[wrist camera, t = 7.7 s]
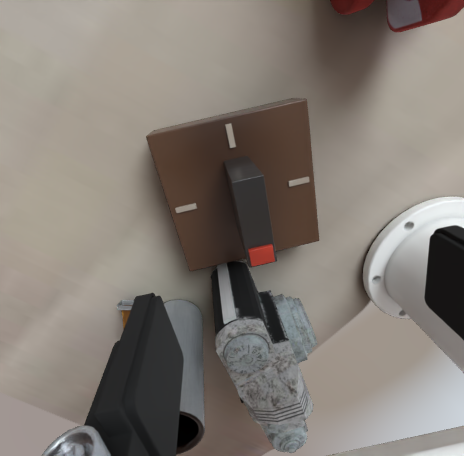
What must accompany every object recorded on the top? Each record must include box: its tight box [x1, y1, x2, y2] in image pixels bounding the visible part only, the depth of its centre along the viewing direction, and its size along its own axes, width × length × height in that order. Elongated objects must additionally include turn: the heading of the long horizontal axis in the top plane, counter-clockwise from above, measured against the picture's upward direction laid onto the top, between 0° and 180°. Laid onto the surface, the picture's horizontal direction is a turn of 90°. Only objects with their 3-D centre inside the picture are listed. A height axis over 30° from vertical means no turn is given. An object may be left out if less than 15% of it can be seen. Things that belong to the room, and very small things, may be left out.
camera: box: [211, 261, 317, 453], centre depth 23 cm, size 15×7×10 cm, turn 20°
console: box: [146, 98, 319, 271], centre depth 21 cm, size 10×10×3 cm
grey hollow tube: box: [164, 300, 205, 454], centre depth 22 cm, size 4×4×10 cm
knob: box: [224, 156, 277, 267], centre depth 17 cm, size 5×2×5 cm, turn 11°
